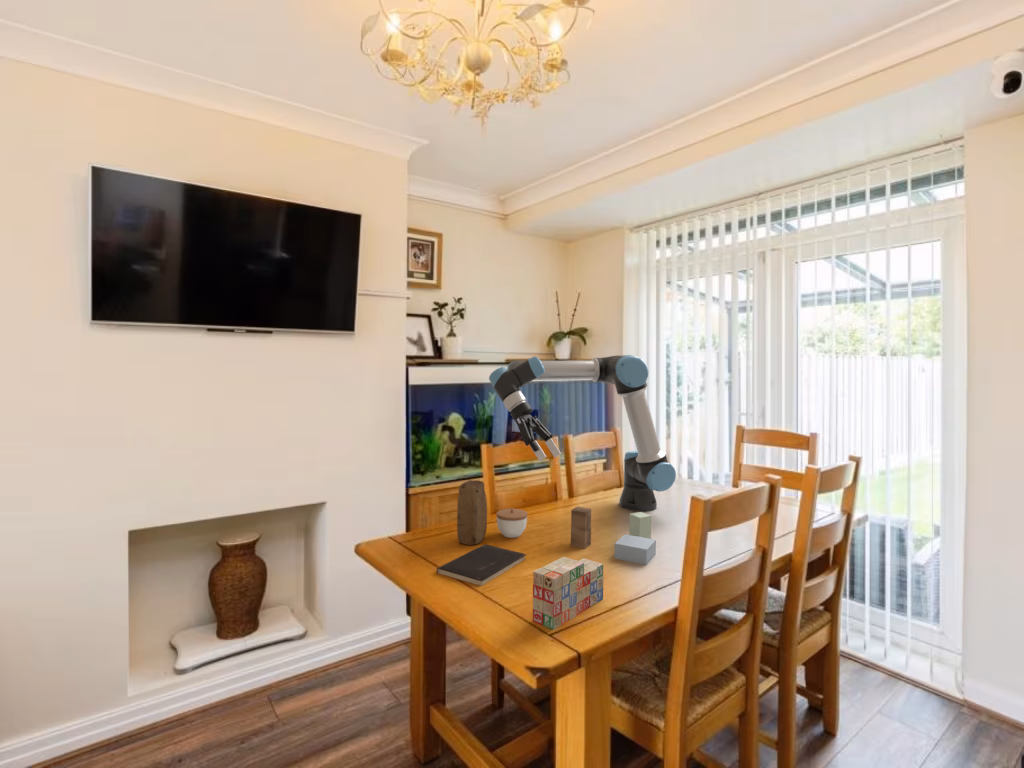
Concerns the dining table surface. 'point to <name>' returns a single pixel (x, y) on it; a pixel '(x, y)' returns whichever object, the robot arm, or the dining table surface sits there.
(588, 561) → the stack of blocks
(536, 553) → the dining table surface
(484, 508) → the block
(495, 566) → the hardcover book
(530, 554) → the dining table surface
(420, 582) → the dining table surface
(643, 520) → the sage block
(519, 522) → the lidded jar
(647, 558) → the slate base block
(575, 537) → the walnut block
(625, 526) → the dining table surface
